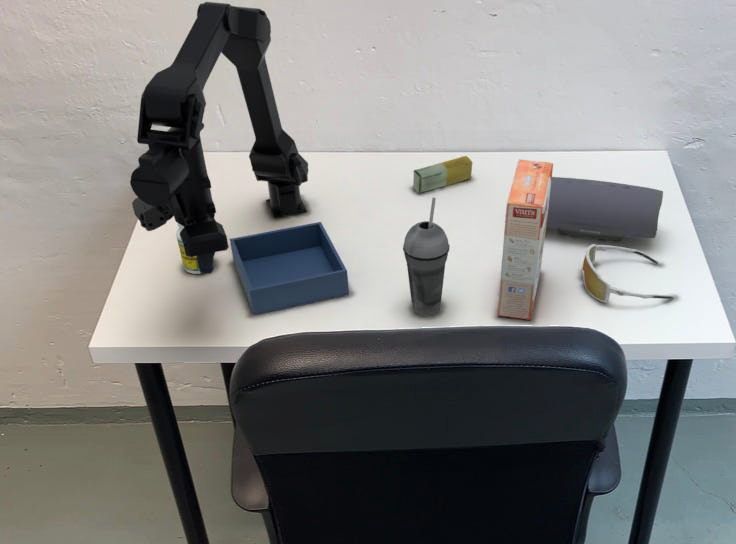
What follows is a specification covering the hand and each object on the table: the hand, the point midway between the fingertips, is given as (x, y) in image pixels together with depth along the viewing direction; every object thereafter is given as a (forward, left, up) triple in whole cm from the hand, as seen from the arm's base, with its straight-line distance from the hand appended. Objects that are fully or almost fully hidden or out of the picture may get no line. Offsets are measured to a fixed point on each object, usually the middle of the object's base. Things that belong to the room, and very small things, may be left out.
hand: (205, 262), depth 139 cm
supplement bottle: (-14, 0, -10) cm, 17 cm away
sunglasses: (+16, +67, -10) cm, 69 cm away
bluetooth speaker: (0, +69, -10) cm, 69 cm away
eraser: (0, 0, -2) cm, 2 cm away
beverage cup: (+11, +33, -10) cm, 36 cm away
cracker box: (+13, +49, -10) cm, 51 cm away
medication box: (-26, +50, -10) cm, 57 cm away
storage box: (-5, +14, -9) cm, 17 cm away
